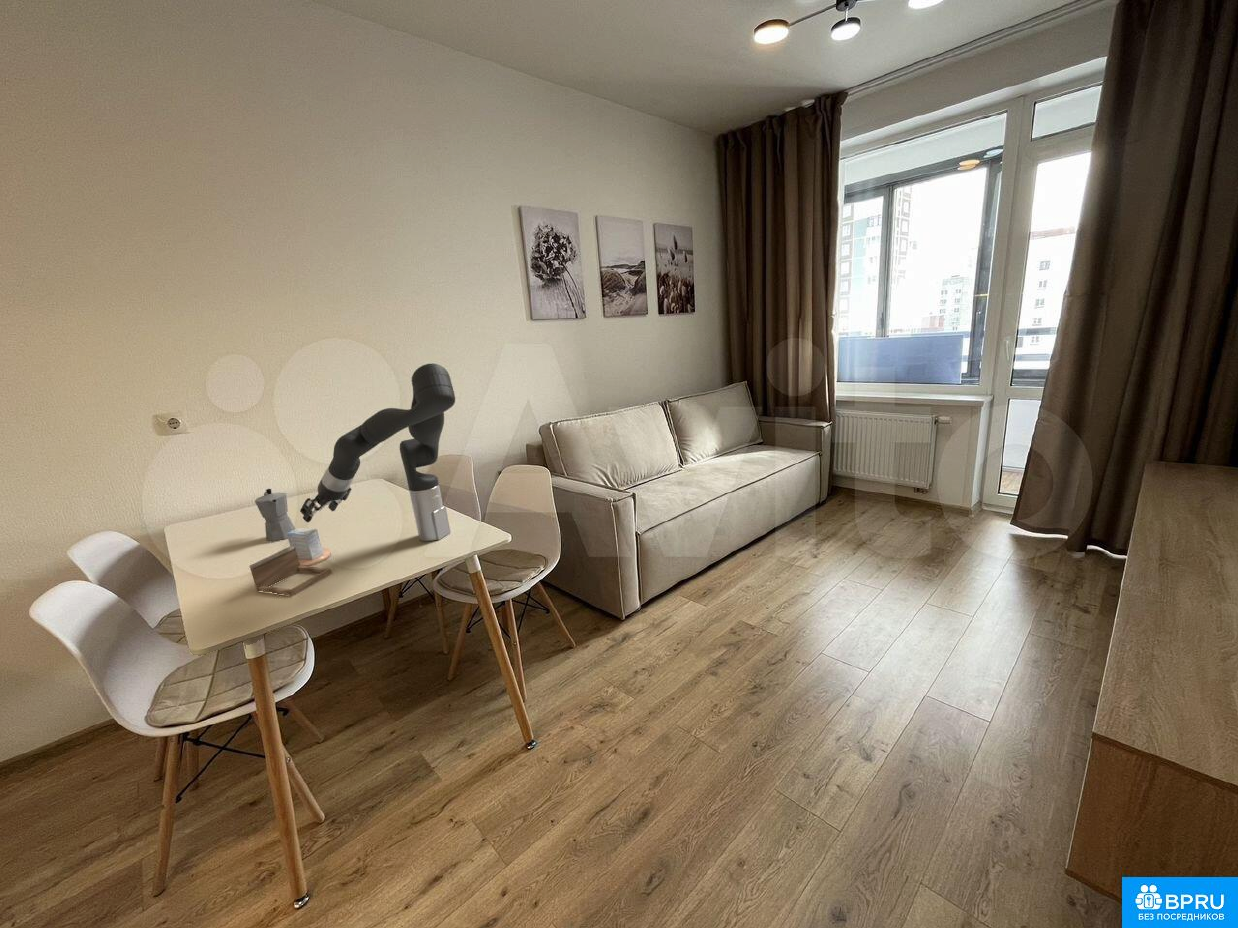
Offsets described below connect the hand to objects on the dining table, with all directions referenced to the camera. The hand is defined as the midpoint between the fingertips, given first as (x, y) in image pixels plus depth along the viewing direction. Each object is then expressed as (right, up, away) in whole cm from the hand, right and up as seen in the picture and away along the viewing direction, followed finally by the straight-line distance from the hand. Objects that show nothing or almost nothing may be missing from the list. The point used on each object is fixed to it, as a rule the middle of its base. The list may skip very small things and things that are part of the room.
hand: (319, 514), depth 154 cm
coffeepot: (-29, -11, +27) cm, 41 cm away
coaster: (-6, -15, +4) cm, 16 cm away
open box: (0, -18, -11) cm, 21 cm away
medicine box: (-5, -14, +4) cm, 15 cm away
